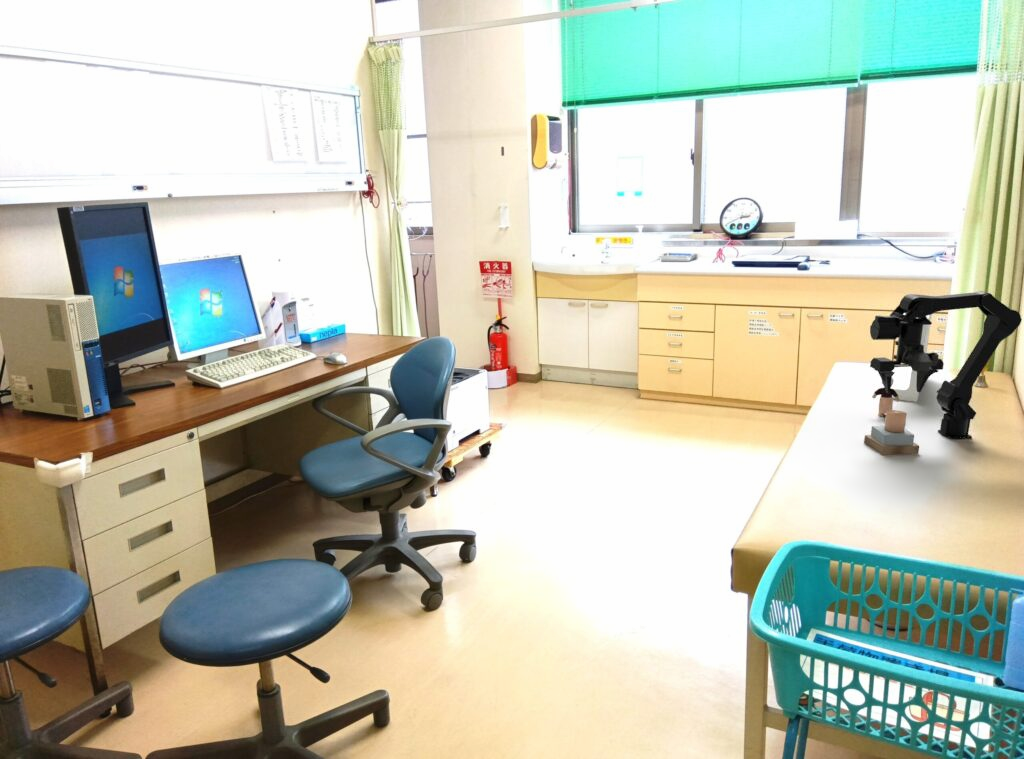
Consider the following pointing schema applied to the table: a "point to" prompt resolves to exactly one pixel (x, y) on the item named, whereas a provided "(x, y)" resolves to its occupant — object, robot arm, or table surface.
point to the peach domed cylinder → (895, 421)
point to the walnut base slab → (891, 447)
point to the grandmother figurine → (885, 399)
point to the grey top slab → (892, 436)
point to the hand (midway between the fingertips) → (903, 392)
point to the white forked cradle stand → (910, 373)
